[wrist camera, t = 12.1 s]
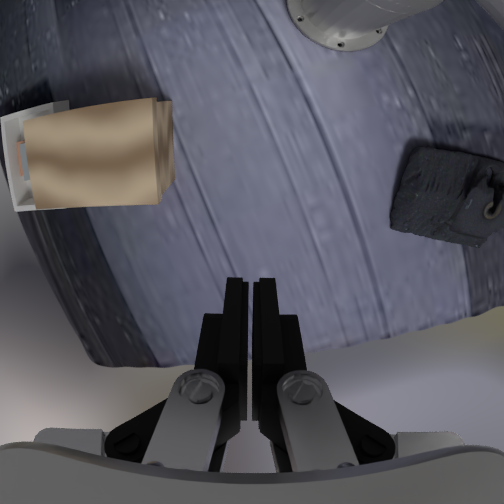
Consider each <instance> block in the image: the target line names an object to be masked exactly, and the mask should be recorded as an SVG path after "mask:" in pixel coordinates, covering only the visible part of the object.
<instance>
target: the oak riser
mask: <svg viewBox="0 0 504 504" xmlns="http://www.w3.org/2000/svg"><path fill="white" fill-rule="evenodd" d="M23 127H24V138H25V147H26V155H27V162H28V169H29V175H30V181H31V187H32V192H33V198H34V203H35V207H36V210H37V209H52V208H70V207H90V206H116V205H153V204H159V203H160V202H161V200H162V194H163V193H164V192H165V191H166V189H167V188H168V187H169V186H170V185H171V183H172V182H173V181H174V180H175V170H174V150H173V122H172V101H160V102H157V98H145V99H136V100H128V101H120V102H113V103H106V104H100V105H94V106H88V107H83V108H78V109H72V110H68V111H63V112H58V113H54V114H49V115H45V116H41V117H37V118H33V119H29V120H25V121H23Z"/></svg>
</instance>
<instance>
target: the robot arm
mask: <svg viewBox="0 0 504 504" xmlns="http://www.w3.org/2000/svg"><path fill="white" fill-rule="evenodd" d="M442 1H443V0H287V8H288V12H289V15H290V17H291V19H292V21H293V22H294V24H295V25H296V27H297V28H298V29H299V30H300V31H301V32H302V33H303V34H304V35H305V36H306V37H307V38H309V39H310V40H311V41H313V42H314V43H316V44H318V45H320V46H322V47H325V48H328V49H331V50H335V51H341V52H353V51H359V50H362V49H366V48H368V47H370V46H372V45H374V44H375V43H377V42H378V41H379V40H380V39H381V38H382V37H383V36H384V34H385V32H386V30H387V28H388V25H389V24H392V23H394V22H397V21H399V20H402V19H404V18H407V17H409V16H412V15H415V14H417V13H420V12H423V11H425V10H428V9H431V8H433V7H435V6H437V5H438V4H440V3H441V2H442ZM475 1H476V2H477V3H478V4H479V5H480V6H481V7H482V8H483V9H484V10H485V11H486V12H487V13H488V14H489V15H490V16H491V17H492V18H493V19H494V21H495V22H496V23H497V24H498V25H499V26H500V27H501V28H502V30H503V31H504V0H475ZM299 18H300V19H301V20H302V21H301V22H300V21H298V20H297V19H299ZM376 30H377V31H378V33H377V32H376ZM338 43H339V44H341V47H339V46H338ZM248 289H249V282H243V278H233V277H227V283H226V291H225V300H224V309H223V314H210V313H205V314H204V317H203V322H202V328H201V333H200V338H199V344H198V350H197V355H196V361H195V367H194V370H190V371H187V372H185V373H183V374H182V375H180V376H179V377H178V378H177V380H176V381H175V383H174V385H173V387H172V390H171V392H170V394H169V397H168V398H167V399H165V400H163V401H162V402H160V403H158V404H157V405H155V406H153V407H152V408H150V409H148V410H146V411H145V412H143V413H141V414H139V415H138V416H136V417H134V418H132V419H131V420H129V421H127V422H125V423H123V424H121V425H120V426H118V427H116V428H115V429H113V430H112V431H111V432H103V430H102V429H65V428H46V429H43V430H41V431H40V432H39V433H38V434H37V435H36V436H35V439H34V441H33V442H14V443H8V444H4V445H1V446H0V504H504V452H502V451H501V450H499V449H496V448H493V447H488V446H480V445H464V442H463V439H462V438H461V437H460V436H459V435H457V434H456V433H454V432H448V431H447V432H397V434H396V435H391V434H389V433H387V432H386V431H385V430H383V429H381V428H380V427H378V426H376V425H375V424H373V423H371V422H369V421H368V420H366V419H364V418H362V417H361V416H359V415H357V414H355V413H354V412H352V411H351V410H349V409H347V408H346V407H344V406H342V405H341V404H339V403H338V402H336V401H334V400H333V397H332V395H331V393H330V390H329V388H328V385H327V383H326V382H325V381H324V379H323V378H322V377H320V376H319V375H317V374H316V373H314V372H311V371H307V368H306V362H305V356H304V350H303V344H302V338H301V333H300V327H299V321H298V317H297V315H279V307H278V299H277V290H276V281H275V278H260V279H259V282H254V283H253V324H252V420H253V421H257V420H258V421H259V429H260V432H261V433H262V434H263V435H264V436H266V437H267V438H268V439H270V446H271V451H272V455H273V460H274V464H275V468H276V473H222V471H223V467H224V463H225V459H226V454H227V450H228V446H229V439H230V438H232V437H233V436H235V435H236V434H237V433H238V432H239V431H240V420H247V366H248Z"/></svg>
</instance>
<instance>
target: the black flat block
mask: <svg viewBox="0 0 504 504" xmlns="http://www.w3.org/2000/svg"><path fill="white" fill-rule="evenodd" d="M489 167H490V168H491V170H492V178H491V183H490V185H489V186H487V183H486V180H487V179H488V175H487V173H488V172H487V169H488V168H489ZM503 184H504V163H503V162H501V161H496V160H492V159H488V158H485V157H480V156H474V155H471V154H470V153H469V154H467V153H464V152H459V151H458V152H456V151H455V152H452V151H449V150H438V149H435V148H433V147H430V146H426V147H416V148H415V149H413V151H412V153H411V155H410V158H409V161H408V165H407V167H406V170H405V172H404V174H403V176H402V180H401V185H400V186H401V187H400V189H399V191H398V192H397V194H396V196H395V202H394V205H393V210H392V212H391V219H390V220H391V223H392V226H391V229H394V230H396V231H400V232H404V233H413V234H415V235H419V236H425V237H428V238H432V239H437V240H444V241H446V242H451V243H457V244H463V245H468V246H471V247H476V248H480V247H481V245H482V244H483V243H484V242H485V241H486V240H487V237H488V236H490V235H491V234H492V233H493V232H498V231H499V230H500V229H502V228H504V185H503Z"/></svg>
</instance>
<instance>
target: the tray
mask: <svg viewBox="0 0 504 504" xmlns="http://www.w3.org/2000/svg"><path fill="white" fill-rule="evenodd" d="M68 110H70V108H69V100H65V101H58V102H52V103H48V104H44V105H40V106H36V107H33V108H29V109H26V110H22V111H19V112H16V113H13V114H9V115H6V116H3V117H0V118H1V130H2V140H3V148H4V156H5V163H6V169H7V175H8V181H9V186H10V192H11V197H12V201H13V206H14V210H15V212H16V211H29V210H36V207H35V203H34V198H33V192H32V187H31V181H30V180H27V181H24V176H20V170H19V163H18V154H17V145H16V142H19V141H22V140H25V138H24V127H23V121H25V120H29V119H33V118H37V117H41V116H45V115H49V114H54V113H58V112H63V111H68ZM52 209H61V208H52ZM37 210H44V209H37Z"/></svg>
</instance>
